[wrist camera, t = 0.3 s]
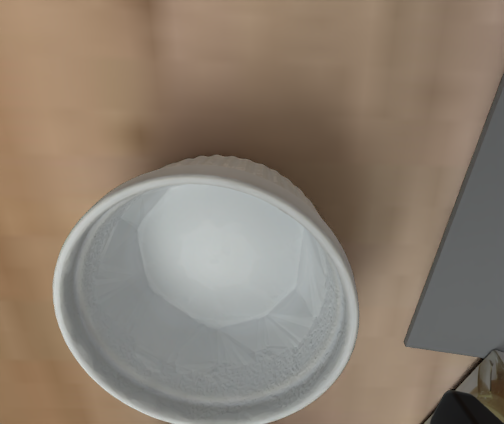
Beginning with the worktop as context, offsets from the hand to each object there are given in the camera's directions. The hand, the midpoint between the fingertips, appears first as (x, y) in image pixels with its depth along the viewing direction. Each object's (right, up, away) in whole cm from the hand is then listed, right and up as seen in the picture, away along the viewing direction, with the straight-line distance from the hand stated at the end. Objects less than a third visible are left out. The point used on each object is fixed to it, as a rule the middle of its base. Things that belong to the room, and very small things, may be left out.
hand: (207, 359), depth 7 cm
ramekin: (-1, +1, +16) cm, 16 cm away
